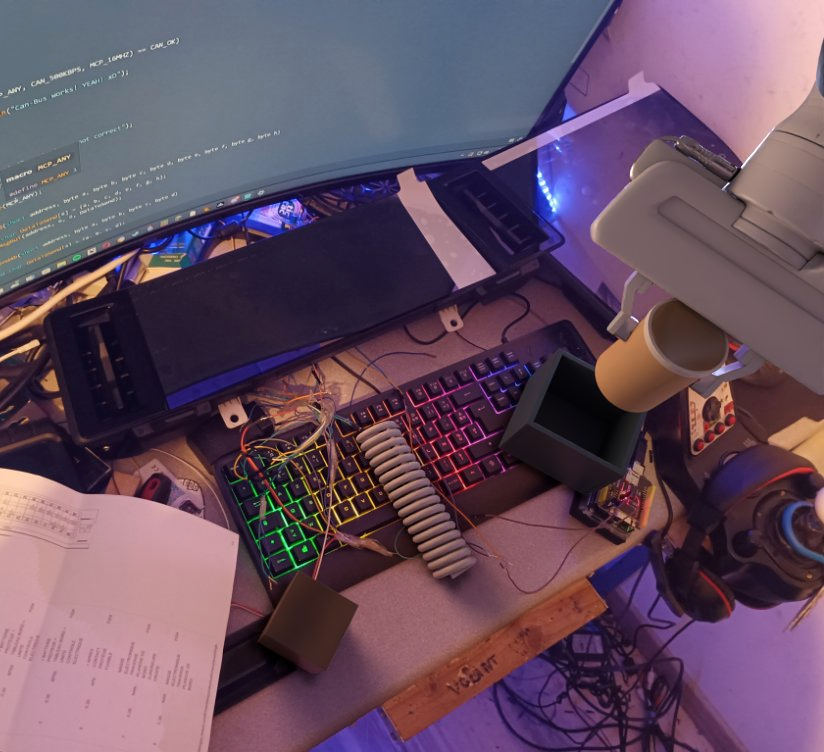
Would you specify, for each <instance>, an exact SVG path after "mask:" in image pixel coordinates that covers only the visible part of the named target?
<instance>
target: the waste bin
mask: <svg viewBox="0 0 824 752" xmlns="http://www.w3.org/2000/svg"><path fill="white" fill-rule="evenodd" d="M595 368H596V366H594V365H591V364H589V363H588V362H586V361H585V360H582V359H580V358H579V357H577V356H574V355H573V354H571V353H569V352H568V351H565V350H563V349H562V348H558V349H556V351H555V352H553V353H552V355H551V356H550V357H549V358H547V360H546V361H544V362H543V364H541V365H540V366H539V368H538V369H536V370H535V372H534V373H533V374H531V376H529V377H528V380H527V382H526V383H525V386H524V389H523V391H522V392H521V395H520V398H519V400H518V402H517V404H516V407H515V409H514V411H513V413H512V415H511V418H510V420H509V422H508V424H507V426H506V429H505V431H504V434H503V435H502V438H501V440H500V442H499V445H498V449H500V450H501V451H504V452H505V453H507V454H509V455H510V456H513V457H514V458H516V459H518V460H519V461H521V462H523V463H525V464H526V465H529V466H530V467H533V468H534V469H536V470H537V471H540V472H541V473H543V474H545V475H546V476H549V477H550V478H552V479H554V480H556V481H558V482H559V483H561V484H563V485H565V486H567V487H569V488H571V490H574V491H576V492H577V493H580V494H581V495H583V496H585V497H589V496H591V495H593V494H595V493H596V492H598V491H600V490H603V489H604V488H607V487H608V486H610V485H612V484H614V483H616V482H618V481H620V480H621V479H623V478H625V477H626V474H627V471H628V468H629V465H630V462H631V459H632V457H633V453H634V451H635V449H636V445H637V443H638V440H639V437H640V434H641V431H642V429H643V425H644V423H645V420H646V417H647V414H648V411H645V412H629V411H625V410H623V409H620V408H618V407H617V406H615V405H614V404H612V403H611V402H610V401H609V400H608V399H607V398H606V397H605V396H604V395H603V393H602V392H601V390H600V388H599V386H598V384H597V381H596V376H595ZM588 492H589V493H588ZM590 493H592V494H590Z"/></svg>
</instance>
